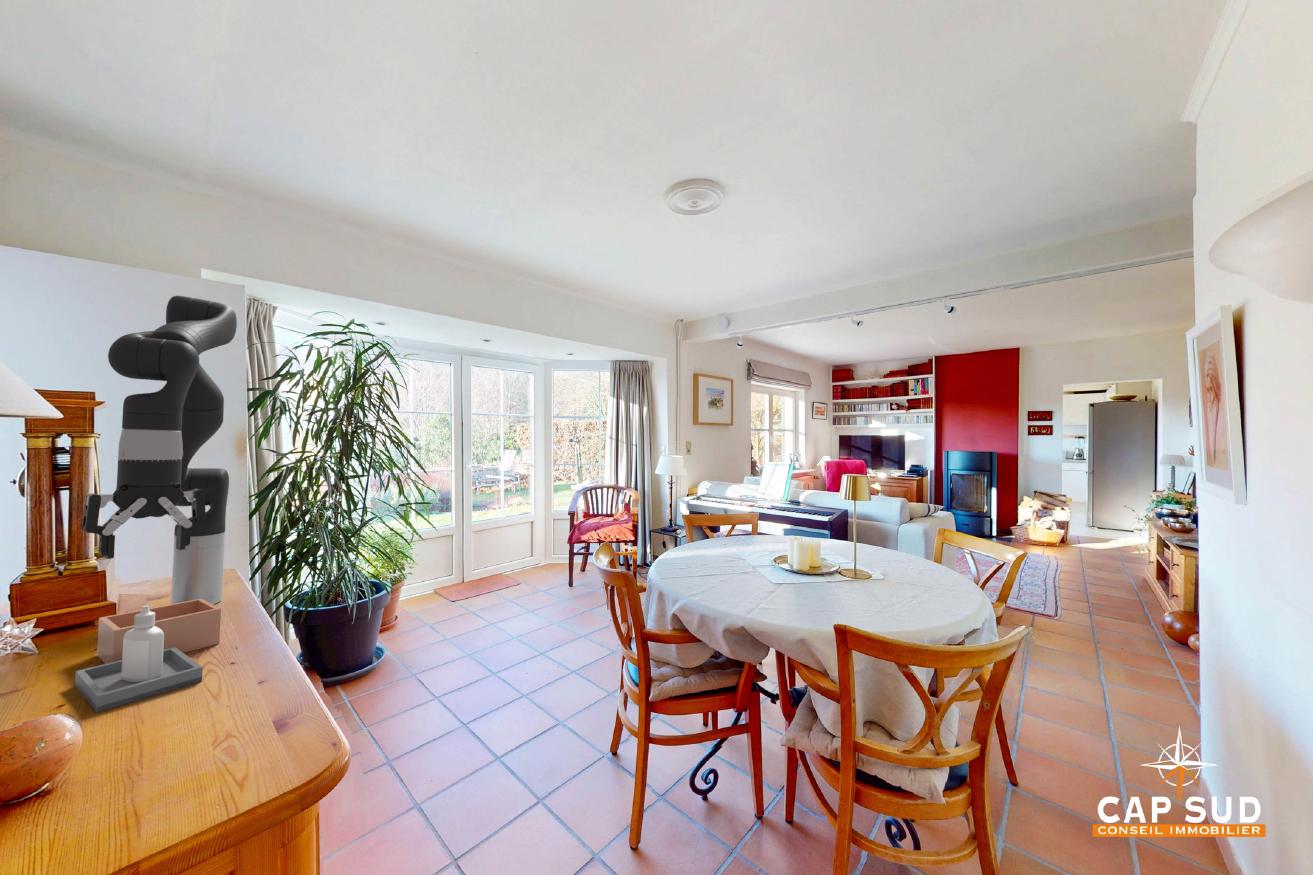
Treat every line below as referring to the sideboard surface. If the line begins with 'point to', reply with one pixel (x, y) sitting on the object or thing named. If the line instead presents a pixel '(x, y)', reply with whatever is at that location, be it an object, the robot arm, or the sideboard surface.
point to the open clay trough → (164, 628)
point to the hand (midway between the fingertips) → (146, 553)
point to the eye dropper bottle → (143, 649)
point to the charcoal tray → (112, 691)
